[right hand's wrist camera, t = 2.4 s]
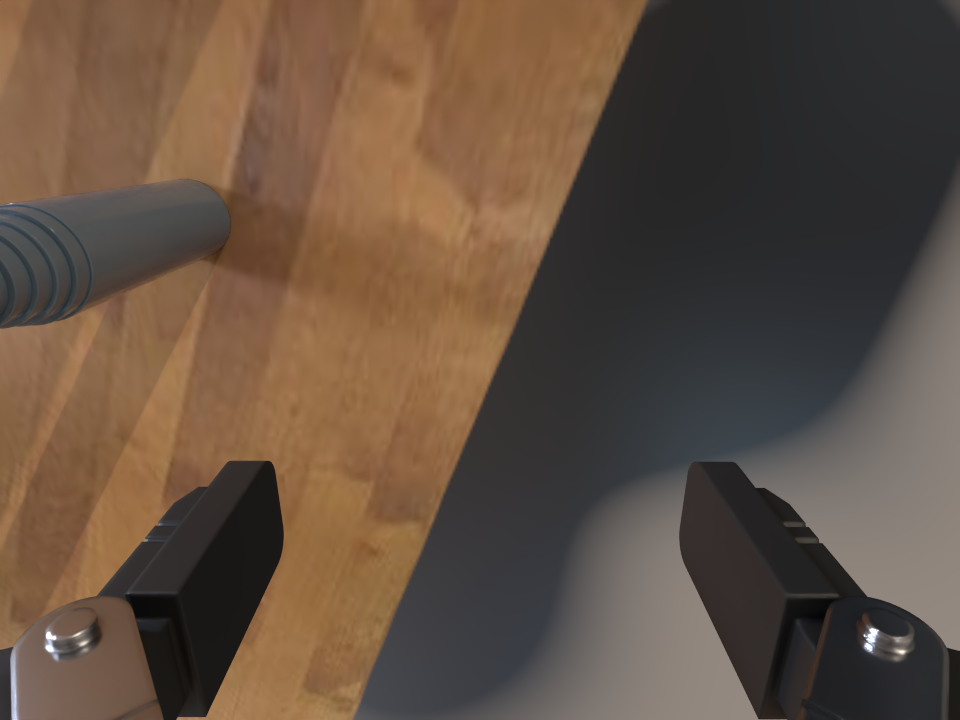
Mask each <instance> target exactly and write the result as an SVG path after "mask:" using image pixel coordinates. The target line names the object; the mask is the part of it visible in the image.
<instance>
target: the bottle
mask: <svg viewBox="0 0 960 720" xmlns="http://www.w3.org/2000/svg"><path fill="white" fill-rule="evenodd" d="M229 233H230V217H229V213H228V210H227V208H226V206H225V204H224V202H223V200H222V199H221V198H220V196H219V195H218V194H217V193H216V192H215V191H214V190H213V189H211V188H210V187H208V186H207V185H205V184H203V183H201V182H198V181H195V180H190V179H179V180H172V181H165V182H158V183H151V184H144V185H137V186H130V187H123V188H116V189H109V190H101V191H94V192H87V193H80V194H73V195H66V196H59V197H52V198H45V199H38V200H31V201H24V202H17V203H10V204H4V205H0V329H3V328H10V327H14V326H18V327H21V326H29V325H44V324H48V323H51V322H54V321H60V320H64V319H67V318H69V317H71V316H74V315H76V314H78V313H81V312H83V311H85V310H87V309H90V308H92V307H94V306H96V305H99V304H101V303H103V302H105V301H108V300H110V299H112V298H115V297H117V296H119V295H121V294H124V293H126V292H128V291H130V290H133V289H135V288H137V287H140V286H142V285H144V284H146V283H149V282H151V281H153V280H155V279H158V278H160V277H162V276H165V275H167V274H169V273H171V272H174V271H176V270H178V269H180V268H183V267H185V266H187V265H190V264H192V263H194V262H196V261H199V260H201V259H203V258H205V257H208V256H210V255H212V254H214V253H216V252H218V251H219V250H220V249H221V248H222V247H223V246H224V244H225V243H226V241H227V239H228V237H229Z"/></svg>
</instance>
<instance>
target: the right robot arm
mask: <svg viewBox="0 0 960 720" xmlns="http://www.w3.org/2000/svg"><path fill="white" fill-rule="evenodd" d="M283 539H284V531H283V522H282V515H281V508H280V501H279V494H278V487H277V480H276V473H275V469H274V466H273V464H272V462H270V461H229V462H227V463H226V465H225V466H224V467H223V468H222V470H221V471H220V472H219V474H218V475H217V476H216V477H215V479H214V480H213V481H212V483H211V484H210V485H209V486H208V487H198V488H196V489H195V490H193V491H192V492H190V493H189V494H187V495H186V496H184V497H183V498H181V499H180V500H178V501H177V502H175V503H174V504H173V505H172V506H171V508H170V509H169V510H168V511H167V512H166V514H165V515H164V516H163V517H162V518H161V520H160V521H159V524H158V526H155V527H154V528H153V529H152V530H151V532H150V533H149V534H148V535H147V536H146V538H145V542H141V544H140V545H139V546H138V547H137V548H136V550H135V551H134V552H133V553H132V554H131V556H130V557H129V558H128V559H127V560H126V562H125V563H124V564H123V565H122V566H121V568H120V569H119V570H118V571H117V572H116V574H115V575H114V576H113V577H112V578H111V580H110V581H109V582H108V583H107V584H106V586H105V587H104V588H103V589H102V590H101V592H100V593H99V594H98V595H97V596H96V597H89V598H85V599H81V600H78V601H75V602H72V603H69V604H67V605H64V606H62V607H60V608H58V609H56V610H54V611H52V612H50V613H49V614H47V615H45V616H44V617H42V618H41V619H39V620H38V621H37V622H35V623H34V624H33V625H32V626H31V627H29V628H28V629H27V630H26V631H25V632H24V633H23V634H22V636H21V637H20V638H19V639H18V641H17V642H16V644H15V645H14V647H11V648H7V649H3V650H0V720H176V719H177V717H206V715H207V713H208V711H209V709H210V707H211V705H212V703H213V701H214V699H215V696H216V694H217V692H218V690H219V688H220V686H221V684H222V682H223V680H224V677H225V675H226V673H227V671H228V669H229V667H230V665H231V663H232V660H233V658H234V656H235V654H236V652H237V650H238V648H239V646H240V644H241V641H242V639H243V637H244V635H245V633H246V631H247V629H248V627H249V624H250V622H251V620H252V618H253V616H254V614H255V612H256V610H257V608H258V605H259V603H260V601H261V599H262V597H263V595H264V593H265V591H266V588H267V586H268V584H269V582H270V580H271V578H272V576H273V574H274V572H275V569H276V567H277V565H278V563H279V560H280V557H281V553H282V548H283ZM679 540H680V550H681V555H682V558H683V561H684V564H685V566H686V568H687V570H688V572H689V575H690V577H691V579H692V581H693V583H694V585H695V587H696V589H697V591H698V593H699V595H700V598H701V600H702V602H703V604H704V606H705V608H706V610H707V612H708V614H709V616H710V618H711V621H712V623H713V625H714V627H715V629H716V631H717V633H718V635H719V637H720V639H721V641H722V644H723V646H724V648H725V650H726V652H727V654H728V656H729V658H730V660H731V662H732V664H733V667H734V669H735V671H736V673H737V675H738V677H739V679H740V681H741V683H742V685H743V688H744V690H745V692H746V694H747V696H748V698H749V700H750V702H751V704H752V706H753V708H754V711H755V713H756V715H757V717H758V719H787V720H960V651H957V650H953V649H950V648H946V646H945V644H944V642H943V641H942V639H941V638H940V637H939V636H938V635H937V633H936V632H935V631H934V630H933V629H932V628H931V627H929V626H928V625H927V624H926V623H925V622H923V621H922V620H921V619H919V618H918V617H916V616H915V615H913V614H911V613H910V612H908V611H906V610H904V609H902V608H900V607H898V606H896V605H893V604H891V603H888V602H885V601H882V600H879V599H875V598H871V597H867V596H866V595H865V593H864V592H863V591H862V590H861V589H860V587H859V586H858V585H857V584H856V583H855V582H854V580H853V579H852V578H851V577H850V576H849V574H848V573H847V572H846V571H845V570H844V568H843V567H842V566H841V565H840V564H839V563H838V561H837V560H836V559H835V558H834V557H833V555H832V554H831V553H830V552H829V551H828V549H827V548H826V547H825V546H824V545H823V544H822V543H819V539H818V538H817V536H816V535H815V534H814V533H813V532H812V530H811V529H810V528H809V527H806V526H805V522H804V521H803V520H802V519H801V517H800V516H799V515H798V514H797V513H796V511H795V510H794V509H793V508H792V507H791V505H790V504H788V503H787V502H785V501H784V500H782V499H781V498H779V497H778V496H776V495H775V494H773V493H772V492H770V491H768V490H767V489H765V488H755V487H754V485H753V484H752V483H751V482H750V480H749V479H748V478H747V476H746V475H745V474H744V473H743V471H742V470H741V469H740V468H739V466H738V465H737V464H736V463H734V462H693V463H692V464H691V465H690V467H689V470H688V475H687V482H686V489H685V496H684V503H683V510H682V517H681V524H680V532H679Z"/></svg>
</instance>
